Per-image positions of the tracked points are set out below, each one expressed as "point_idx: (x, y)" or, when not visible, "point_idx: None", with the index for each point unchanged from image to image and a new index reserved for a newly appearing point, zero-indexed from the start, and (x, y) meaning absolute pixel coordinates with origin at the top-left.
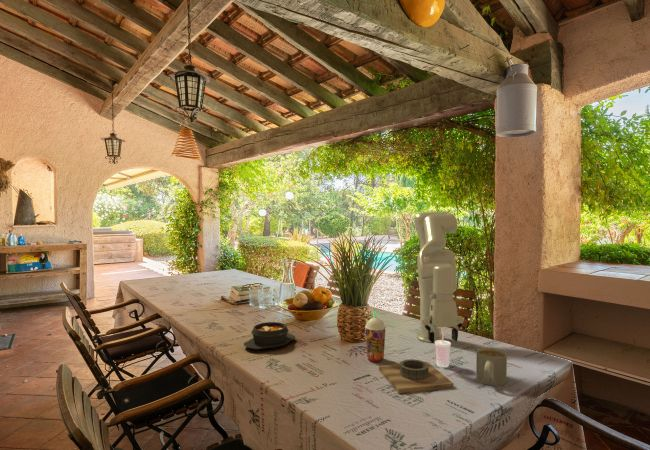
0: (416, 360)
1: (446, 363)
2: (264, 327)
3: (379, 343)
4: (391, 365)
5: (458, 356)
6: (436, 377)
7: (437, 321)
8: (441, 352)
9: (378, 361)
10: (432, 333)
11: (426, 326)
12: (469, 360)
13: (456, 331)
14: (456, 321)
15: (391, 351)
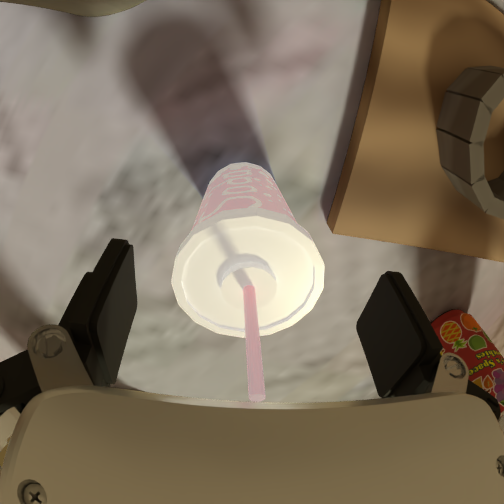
0: (483, 187)
1: (244, 168)
2: None
3: (493, 357)
4: (483, 251)
5: (92, 266)
6: (435, 39)
7: (496, 474)
8: (289, 209)
9: (455, 310)
10: (434, 342)
11: (496, 409)
12: (61, 207)
13: (82, 319)
14: (31, 476)
15: (344, 374)
